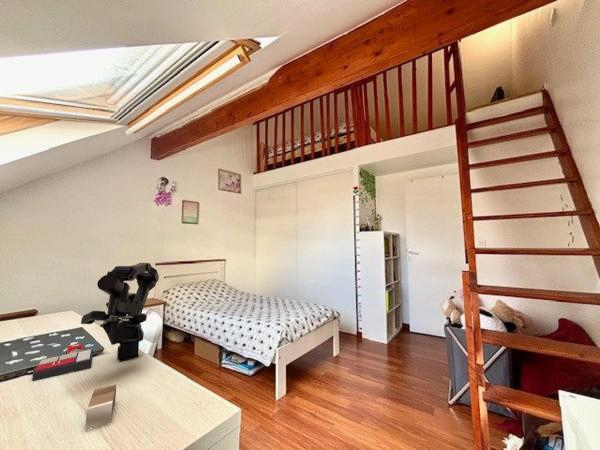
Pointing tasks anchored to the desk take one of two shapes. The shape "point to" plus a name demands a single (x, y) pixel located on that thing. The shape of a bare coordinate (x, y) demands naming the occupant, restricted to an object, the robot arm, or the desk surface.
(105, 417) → the beige tall block
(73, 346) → the race car
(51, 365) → the calculator
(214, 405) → the desk surface
